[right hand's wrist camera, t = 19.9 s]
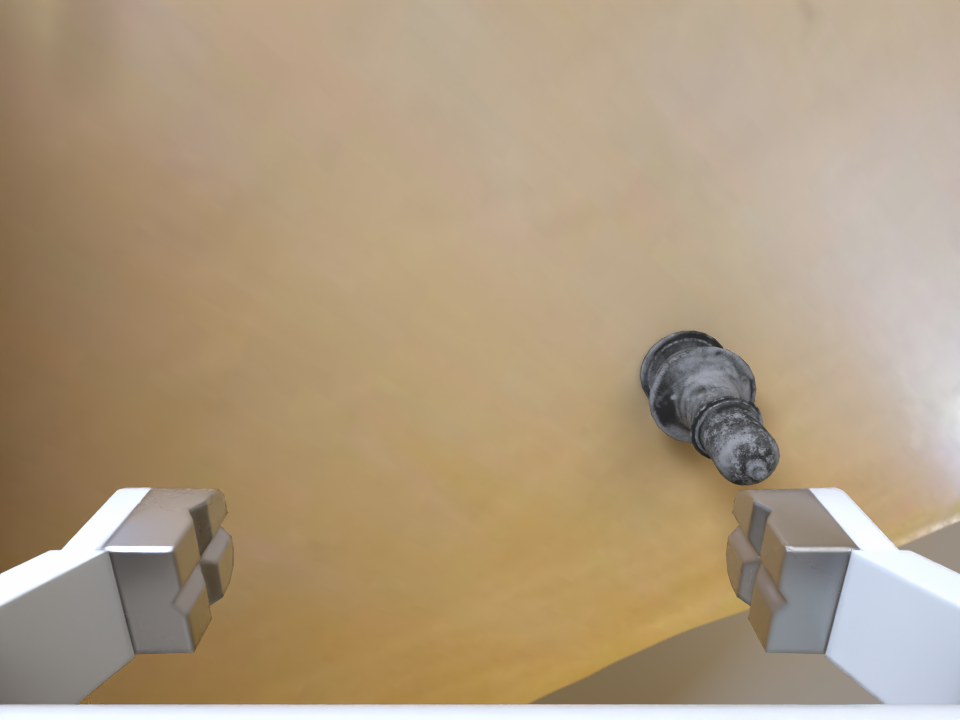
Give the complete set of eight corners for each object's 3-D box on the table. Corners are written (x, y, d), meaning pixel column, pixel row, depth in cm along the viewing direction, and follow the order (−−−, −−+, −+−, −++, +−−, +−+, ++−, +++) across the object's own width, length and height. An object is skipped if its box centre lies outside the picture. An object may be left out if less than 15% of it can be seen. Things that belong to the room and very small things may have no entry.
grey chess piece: (753, 362, 40) (860, 466, 28) (686, 432, 41) (763, 555, 30) (681, 306, 38) (764, 392, 27) (615, 381, 40) (667, 490, 29)
